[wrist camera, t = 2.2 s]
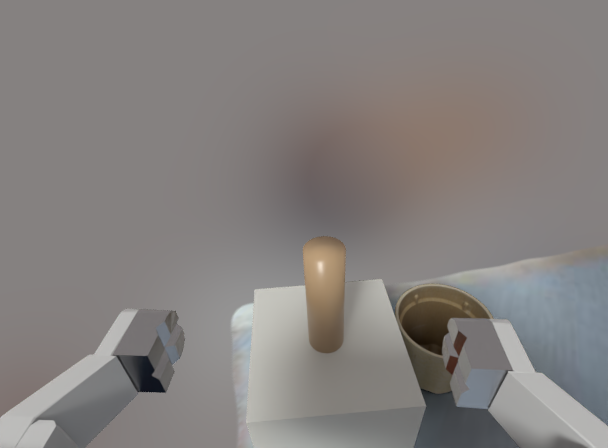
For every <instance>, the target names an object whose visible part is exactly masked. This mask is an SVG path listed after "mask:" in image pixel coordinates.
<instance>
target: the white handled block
mask: <svg viewBox="0 0 608 448" xmlns="http://www.w3.org/2000/svg"><path fill="white" fill-rule="evenodd" d="M345 254H346V248H345V246H344V244H343V243H342V242H341V241H340V240H338V239H336V238H333V237H327V236H323V237H316V238H313V239H311V240H309V241H308V242H307V243H306V244H305V245H304V247H303V260H304V275H305V285H303V286H292V287H280V288H268V289H256V290H255V293H254V308H253V323H252V339H251V355H250V370H249V386H248V402H247V418H246V424H247V427H248V431H249V434H250V437H251V440H252V444H253V447H254V448H414V445H415V442H416V439H417V435H418V432H419V429H420V425H421V422H422V418H423V415H424V412H425V408H426V404H425V401H424V398H423V395H422V392H421V390H420V387H419V384H418V381H417V378H416V375H415V372H414V369H413V367H412V364H411V361H410V358H409V355H408V352H407V349H406V346H405V344H404V341H403V338H402V335H401V332H400V329H399V326H398V323H397V321H396V318H395V315H394V312H393V309H392V306H391V303H390V300H389V298H388V295H387V292H386V289H385V286H384V283H383V280H382V279H376V280H363V281H351V282H345V256H346V255H345Z"/></svg>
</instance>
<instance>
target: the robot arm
mask: <svg viewBox="0 0 608 448" xmlns="http://www.w3.org/2000/svg"><path fill="white" fill-rule="evenodd" d="M177 320H178V316H177V313H176V311H168V310H167V311H166V310H148V309H127V308H126V309H124V310H123V311H122V312H121V313H120V314H119V316H118V317H117V319H116V320H115V322H114V324H113V325H112V327H111V328H110V330H109V331H108V333H107V335H106V336H105V338H104V339H103V341H102V343H101V344H100V346H99V347H98V349H97V350H96V352H95V354H94V355H88V356H86V357H85V358H84V359H82V360H81V361H79V362H78V363H77V364H75V365H74V366H72V367H71V368H70V369H68V370H66V371H65V372H64V373H62V374H61V375H59V376H58V377H57V378H55V379H54V380H52V381H51V382H49V383H48V384H47V385H45V386H44V387H42V388H41V389H39V390H38V391H37V392H35V393H34V394H33V395H31V396H30V397H28V398H27V399H25V400H24V401H22V402H21V403H20V404H18V405H17V406H15V407H14V408H13V409H11V410H10V411H8V412H7V413H5V414H4V415H3V416H2V417H1V418H0V448H85V447H86V446H87V445H88V444H89V443H90V442H91V441H92V440H93V439H94V438H95V437H96V436H97V435H98V434H99V433H100V432H101V431H102V430H103V429H104V428H105V427H106V426H107V425H108V424H109V423H110V422H111V421H112V420H113V419H114V418H115V417H116V416H117V415H118V414H119V413H120V412H121V411H122V410H123V409H124V408H125V407H126V406H127V405H128V404H129V403H130V402H131V401H132V400H133V399H134V398H135V397H136V396H137V395H138V392H157V393H166V391H167V389H168V387H169V384H170V381H171V379H172V377H173V374H174V369H173V366H172V365H173V364H174V363H175V362H176V361H177V360H178V359H180V357H181V354H182V351H183V348H184V341H185V338H184V332H183V329H182V327H181V326H179V325H178V324H177ZM447 327H448V330H449V333H448V334H447V335H445V336H444V339H443V343H442V354H443V361H444V364H445V368H446V370H447V371H448V372H449V373H450V374H451V375H452V378H451V381H450V386H451V390H452V393H453V397H454V400H455V404H456V407H467V408H481V409H489V410H488V411H489V412H490V413H491V415H492V416H493V417H494V418H495V419H496V420H497V422H498V423H499V424H500V425H501V426H502V427H503V429H504V430H505V431H506V432H507V433H508V434H509V436H510V437H511V438H512V439H513V440H514V441H515V443H516V444H517V445H518V446H519V447H520V448H608V426H607V425H606V424H605V423H603V422H602V421H601V420H600V419H599V418H597V417H596V416H595V415H594V414H592V413H591V412H590V411H589V410H587V409H586V408H585V407H584V406H582V405H581V404H580V403H579V402H577V401H576V400H575V399H574V398H573V397H571V396H570V395H569V394H568V393H566V392H565V391H564V390H563V389H561V388H560V387H559V386H558V385H556V384H555V383H554V382H553V381H552V380H550V379H549V378H548V377H547V376H545V375H544V374H543V373H539V372H536V371H535V369H534V367H533V365H532V364H531V362H530V360H529V358H528V356H527V354H526V352H525V350H524V348H523V346H522V344H521V342H520V340H519V338H518V336H517V334H516V332H515V330H514V328H513V326H512V324H511V322H510V321H508V320H507V319H486V318H451V319H450V320H449V322H448V325H447Z"/></svg>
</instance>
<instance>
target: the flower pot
mask: <svg viewBox="0 0 608 448" xmlns="http://www.w3.org/2000/svg"><path fill="white" fill-rule="evenodd" d="M395 318H396V321H397V323H398V326H399V329H400V332H401V335H402V338H403V341H404V344H405V346H406V349H407V352H408V355H409V358H410V361H411V364H412V367H413V369H414V372H415V375H416V378H417V381H418V384H419V387H420V388H421V389H424V390H427V391H430V392H432V393H436V394H442V393H447V392H450V391H452V390H451V386H450V381H451V378H452V375H451V374H450V373H449V372H448V371H447V370H446V368H445V364H444V361H443V354H442V343H443V339H444V336H445V335H447V334H448V333H449V330H448V327H447V325H448V322H449V320H450V319H451V318H486V319H494V318H493V316H492V314H491V313H490V312H489V310H488V309H487V308H486V307H485V305H484V304H482V303H481V302H480V301H479V300H477V299H476V298H475V297H473V296H472V295H470V294H468V293H467V292H465V291H463V290H460V289H458V288H455V287H452V286H448V285H443V284H423V285H418V286H415V287H413V288H411V289H409V290H407V291H406V292H404V293H403V294H402V295H401V297H400V298H399V300H398V302H397V304H396V307H395Z"/></svg>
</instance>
